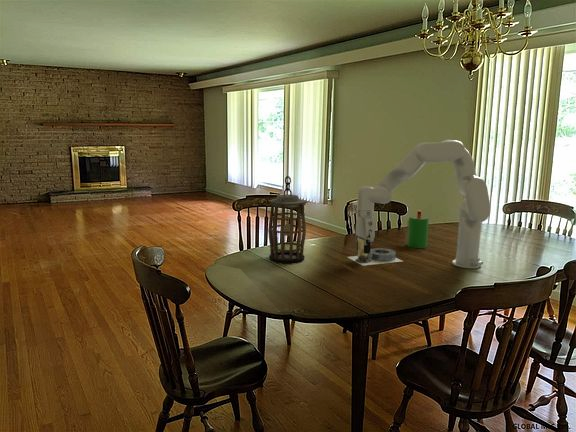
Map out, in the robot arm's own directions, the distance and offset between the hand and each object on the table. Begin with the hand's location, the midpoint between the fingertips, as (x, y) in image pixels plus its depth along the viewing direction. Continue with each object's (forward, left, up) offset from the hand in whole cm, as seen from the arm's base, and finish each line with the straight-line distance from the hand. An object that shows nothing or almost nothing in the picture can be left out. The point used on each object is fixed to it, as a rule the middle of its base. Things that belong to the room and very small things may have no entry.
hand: (363, 251), depth 213 cm
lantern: (+18, +32, -6) cm, 37 cm away
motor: (+19, -44, -6) cm, 48 cm away
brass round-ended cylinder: (0, 0, -3) cm, 3 cm away
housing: (+2, -11, -5) cm, 12 cm away
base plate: (+1, -7, -6) cm, 9 cm away
